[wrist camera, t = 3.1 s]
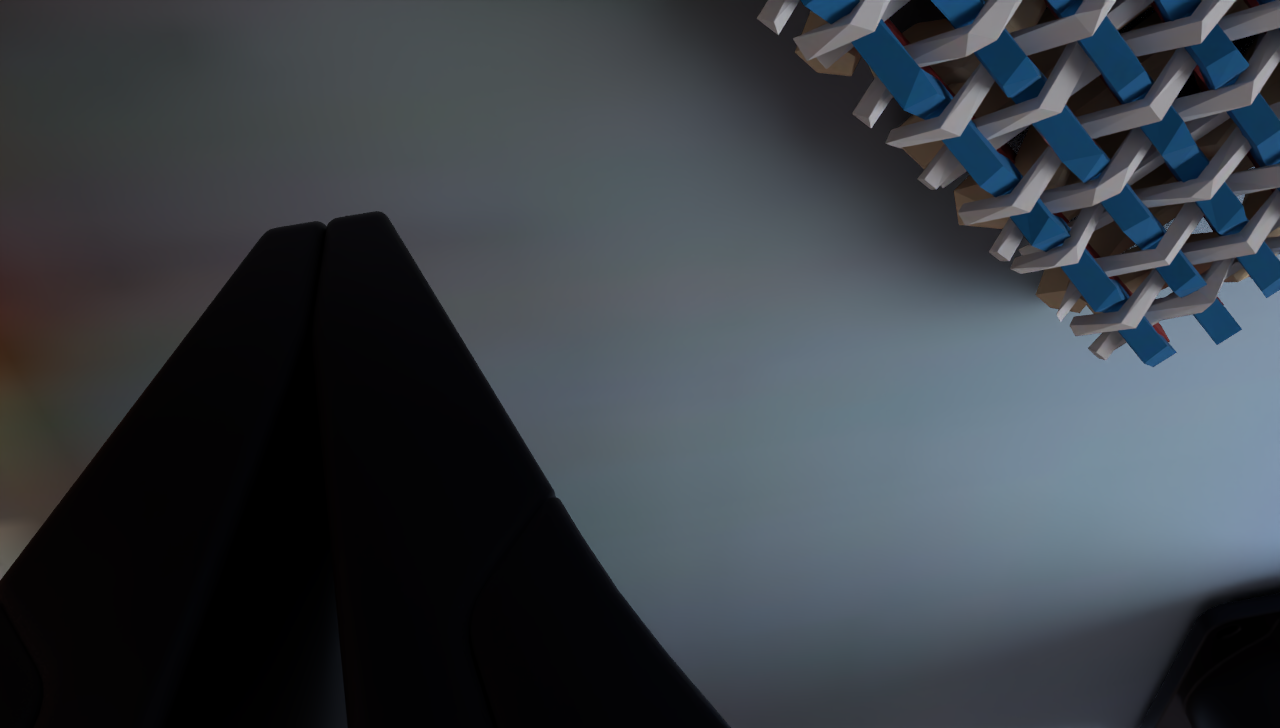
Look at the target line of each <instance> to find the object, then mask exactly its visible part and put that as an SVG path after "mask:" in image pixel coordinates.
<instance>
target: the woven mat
mask: <svg viewBox="0 0 1280 728" xmlns="http://www.w3.org/2000/svg"><path fill="white" fill-rule="evenodd" d="M799 1H800V0H768V1H767V3H766V4H765V6H764V8H763V9H762V11H761V13H760V14H759V16H758V17H757V19H758V20H759V21H761V22H762V23H763V24H764V25H766V26H767V27H768V28H770V29H771V30H772V31H773V32H775V33H776V34H777V35H779V33H780V32H781V30H782V28H783V27H784V25H785V24H786V22H787V20H788V19H789V17H790V15H791V14H792V12H793V11H794V9H795V7H796V6H797V4H798V2H799ZM909 1H910V0H801V2H802V3H803V4H804V6H805V7H807V8H808V9H810V10H811V11H810V14H809V16H808V19H807V22H806V24H805V27H804V29H803V32H802V35H799V36H797V37H795V38H793V40H794V41H795V43H796V44H797V48H796V50H795V53H796V54H797V55H798V56H799V57H800V58H802V59H803V60H804V61H805V62H806V63H807V64H808V65H809V66H810V67H812V68H813V69H814V70H815V71H816V72H817V73H825V74H834V75H843V76H852V74H853V72H854V70H855V68H856V66H857V64H858V62H859V60H860V58H861V56H862V57H863V58H864V60H865V61H866V62H867V64H868V66H869V68H870V70H871V72H872V74H873V77H874V80H873V81H872V83H871V84H870V86H869V88H868V89H867V91H866V92H865V94H864V96H863V97H862V99H861V100H860V102H859V104H858V105H857V107H856V108H855V110H854V112H853V113H852V114H853V115H854V116H855V117H857V118H858V119H859V120H861V121H862V122H863V123H864V124H866V125H867V126H868V127H870V128H872V127H873V125H874V124H875V122H876V121H877V119H878V118H879V116H880V115H881V113H882V112H883V110H884V109H885V108H886V106H887V105H888V103H889V102H890V100H891V99H892V98H895V100H896V101H897V102H898V103H899V105H900V106H901V107H902V109H903V110H905V111H907V112H909V113H911V114H913V115H912V116H911V117H910V118H908V119H907V120H906V121H905V122H904V123H903V124H902V125H901V126H900V127H898V128H895V129H891V131H890V133H889V136H888V138H887V140H886V142H885V144H888V145H891V146H894V147H897V148H902V149H903V150H904V151H905V152H906V153H907V154H908V155H910V156H911V157H912V158H913V159H914V160H915V161H916V162H917V163H918V164H919V165H920V166H921V167H922V168H923V169H924V171H923V172H922V173H921V175H920V176H919V177H918V180H919V181H920V182H922V183H923V184H924V185H925V186H927V187H928V188H929V189H930V190H936V189H937V188H938V187H939V186H941V187H942V188H944V187H946V186H947V185H948V184H950V183H951V182H953V181H954V180H955V179H957V178H958V177H960V176H961V175H962V174H964V173H965V172H966V171H967V172H968V173H969V174H970V175H969V176H968V177H967V178H966V179H965V180H964V181H963V182H962V183H961V184H960V185H959V186H958V187H957V188H956V189H955V190H954V197H955V203H956V210H957V216H958V222H959V225H965V226H976V227H986V228H996V229H1002V231H1001V233H1000V234H999V236H998V237H997V239H996V241H995V242H994V244H993V246H992V247H991V249H990V251H989V253H990V254H992V255H993V256H994V257H996V258H997V259H998V260H1000V261H1010V259H1011V257H1012V256H1013V254H1014V252H1015V250H1016V249H1017V247H1018V245H1019V244H1020V242H1021V240H1022V238H1023V237H1025V238H1026V239H1027V240H1028V242H1029V243H1030V244H1028V245H1026V246H1024V247H1022V248H1021V249H1019V252H1020V253H1021V255H1022V256H1019V257H1015V258H1014V261H1013V263H1012V266H1011V268H1010V269H1012V270H1014V271H1016V272H1018V273H1020V274H1023V273H1029V272H1034V271H1039V270H1044V269H1045V270H1044V273H1043V275H1042V278H1041V281H1040V284H1039V286H1038V289H1037V292H1036V296H1037V297H1039V298H1040V299H1041V300H1042V301H1043V302H1044V303H1045V304H1047V305H1048V306H1049V307H1050V308H1055V309H1059V310H1058V312H1057V316H1058V318H1059V320H1060V322H1061V321H1062V320H1063V318H1064V317H1065V316H1066V315H1067V313H1068V312H1069V311H1072V312H1077V313H1080V312H1081V311H1082V309H1083V308H1084V307H1085V306H1086V305H1087V306H1088V307H1089V309H1090V310H1091V311H1092V312H1093V313H1094V314H1092V315H1084V316H1076V317H1073V320H1072V322H1071V324H1070V327H1071V329H1072V331H1073V333H1074V334H1075V336H1081V335H1088V334H1096V333H1102V334H1101V335H1100V336H1099V337H1098V338H1097V339H1096V340H1095V341H1094V342H1093V343H1092V345H1091V346H1090V347H1089V348H1088V349H1089V350H1090V351H1091V352H1092V353H1093V354H1094V355H1096V356H1097V357H1098V358H1099V359H1103V360H1107V359H1108V357H1109V356H1110V355H1111V353H1112V352H1113V351H1114V350H1115V349H1117V348H1118V347H1120V346H1122V345H1123V344H1125V343H1126V342H1127V343H1128V344H1129V346H1130V347H1131V348H1132V349H1133V350H1134V352H1135V353H1136V354H1137V355H1138V357H1139V358H1140V359H1141V360H1142V361H1143V363H1144V364H1147V365H1150V366H1152V367H1154V366H1156V365H1157V364H1159V363H1161V362H1162V361H1164V360H1165V359H1167V358H1169V357H1170V356H1172V355H1173V354H1175V353H1177V352H1176V351H1175V350H1174V349H1173V348H1172V346H1171V345H1170V344H1169V343H1168V342H1170V341H1169V339H1168V337H1167V335H1166V334H1165V332H1164V330H1163V328H1162V326H1161V325H1160V324H1159V323H1158V322H1159V321H1161V320H1165V319H1170V318H1175V317H1181V316H1186V315H1191V314H1193V315H1194V317H1195V318H1196V319H1197V320H1198V322H1199V323H1200V324H1201V325H1202V327H1203V328H1204V329H1205V331H1206V332H1207V333H1208V334H1209V336H1210V337H1211V338H1212V339H1213V341H1214V342H1215V343H1216V345H1218V344H1219V343H1221V342H1223V341H1224V340H1226V339H1227V338H1229V337H1230V336H1232V335H1234V334H1235V333H1237V332H1238V331H1240V330H1242V329H1241V327H1240V326H1239V325H1238V324H1237V322H1236V321H1235V320H1234V318H1233V317H1232V316H1231V315H1230V313H1229V312H1228V311H1227V310H1226V308H1225V307H1224V306H1223V305H1224V304H1223V303H1222V302H1221V301H1220V299H1219V298H1218V297H1217V295H1218V293H1219V291H1220V289H1221V287H1222V284H1223V282H1239V281H1241V280H1243V279H1245V278H1247V277H1251V278H1252V279H1253V281H1254V282H1255V283H1256V284H1257V286H1258V287H1259V288H1260V290H1261V291H1262V292H1263V294H1264V295H1265V297H1266V298H1267V297H1269V296H1271V295H1272V294H1274V293H1275V292H1277V291H1279V290H1280V261H1279V260H1278V258H1277V257H1276V256H1277V254H1280V0H931V1H932V2H933V3H934V4H935V5H936V7H937V8H938V9H939V10H940V11H941V12H942V13H943V14H944V16H945V17H946V19H940V20H934V21H927V22H921V23H916V24H915V25H913V26H912V27H910V28H909V29H907V30H906V31H904V32H903V33H901V32H900V31H899V30H898V29H897V27H896V26H895V25H894V24H893V23H892V22H891V21H890V19H889V17H890V16H892V15H893V14H894V13H895V12H897V11H898V10H899V9H900V8H901V7H903V6H904V5H905V4H906V3H907V2H909ZM1046 7H1048V9H1047V10H1046V11H1044V10H1045V9H1046ZM1150 7H1153V8H1154V10H1155V12H1154V13H1153V14H1151V15H1150V16H1149V17H1147V18H1146V19H1145V20H1143V21H1142V22H1141V23H1139V24H1138V25H1137V26H1135V27H1134V28H1133V29H1131V30H1130V31H1128V32H1124V33H1119V32H1118V31H1119V30H1120V29H1122V28H1123V27H1124V26H1126V25H1127V24H1129V23H1130V22H1131V21H1133V20H1134V19H1135V18H1137V17H1138V16H1139V15H1141V14H1142V13H1143V12H1145V11H1146V10H1147V9H1149V8H1150ZM1255 34H1259V35H1258V36H1257V37H1256V38H1255V40H1254V41H1253V42H1252V44H1251V45H1250V46H1249V47H1248V49H1247V50H1246V51H1245V53H1244V54H1243V55H1242V54H1241V53H1240V52H1239V51H1238V49H1237V48H1236V47H1235V45H1234V44H1233V43H1232V42H1231V41H1234V40H1237V39H1241V38H1244V37H1248V36H1252V35H1255ZM1192 72H1193V74H1194V76H1195V79H1196V82H1197V85H1198V87H1199V88H1200V90H1201V93H1197V94H1193V95H1189V96H1185V97H1181V98H1177V99H1175V98H1176V97H1177V95H1178V94H1179V92H1180V90H1181V89H1182V87H1183V86H1184V84H1185V83H1186V81H1187V79H1188V78H1189V76H1190V75H1191V73H1192ZM948 84H950V85H948ZM947 85H948V86H947ZM1029 126H1030V127H1029ZM1027 127H1029V129H1028V131H1027V134H1026V136H1025V138H1024V140H1023V142H1022V144H1021V146H1020V149H1019V151H1018V153H1017V155H1016V153H1015V152H1014V151H1013V149H1012V148H1011V147H1010V146H1009V145H1008V144H1007V142H1008V141H1009V140H1011V139H1012V138H1013V137H1015V136H1016V135H1018V134H1019V133H1020V132H1022V131H1023V130H1025V129H1026V128H1027ZM1097 137H1099V138H1097ZM1094 138H1097V139H1096V140H1094ZM1252 166H1255V169H1250V170H1248V169H1249V168H1251V167H1252ZM1242 194H1245V197H1244V200H1243V203H1242V204H1241V202H1240V201H1239V200H1238V198H1237V197H1236V196H1237V195H1242ZM1077 215H1078V217H1077V219H1075V220H1074V221H1072V222H1069V220H1071V219H1073V218H1074V217H1076V216H1077ZM1175 217H1176V218H1175ZM1203 217H1204V218H1205V220H1206V221H1207V222H1208V224H1209V225H1210V227H1211V229H1212V230H1213V232H1209V233H1199V234H1191V233H1192V232H1193V230H1194V229H1195V228H1196V226H1197V225H1198V223H1199V222H1200V220H1201V219H1202V218H1203ZM1174 218H1175V219H1174ZM1172 219H1174V221H1173V222H1172V224H1171V225H1170V227H1169V229H1168V230H1167V231H1166V230H1165V229H1164V227H1163V225H1165V224H1166V223H1168V222H1169V221H1171V220H1172ZM1135 244H1136V245H1137V247H1134V248H1131V249H1129V248H1130V247H1132V246H1133V245H1135ZM1127 249H1128V250H1127ZM1124 251H1125V252H1124ZM1121 253H1122V254H1121ZM1168 286H1169V287H1170V288H1171V289H1172V290H1173V292H1172V293H1171V294H1169V295H1168V296H1166V297H1164V298H1159V299H1155V298H1156V296H1157V295H1158V293H1159V292H1160V290H1162V289H1164V288H1166V287H1168Z"/></svg>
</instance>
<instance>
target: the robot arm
mask: <svg viewBox="0 0 1280 728" xmlns="http://www.w3.org/2000/svg"><path fill="white" fill-rule="evenodd" d="M0 728H731V727H730V726H729V725H728V724H727V723H726V722H725V720H724V719H723V718H722V717H721V716H720V714H719V713H718V712H717V711H716V710H715V709H714V707H713V706H712V705H711V704H710V703H709V702H708V700H707V699H706V698H705V697H704V696H703V695H702V693H701V692H700V691H699V690H698V689H697V687H696V686H695V685H694V684H693V683H692V682H691V680H690V679H689V678H688V677H687V676H686V675H685V673H684V672H683V671H682V670H681V669H680V667H679V666H678V665H677V664H676V663H675V662H674V660H673V659H672V658H671V657H670V656H669V655H668V653H667V652H666V651H665V650H664V648H663V647H662V646H661V645H660V643H659V642H658V641H657V639H656V638H655V637H654V636H653V634H652V633H651V632H650V631H649V629H648V628H647V627H646V625H645V624H644V623H643V622H642V620H641V619H640V618H639V616H638V615H637V614H636V613H635V611H634V610H633V609H632V607H631V606H630V605H629V604H628V602H627V601H626V600H625V598H624V597H623V596H622V595H621V593H620V592H619V591H618V589H617V588H616V586H615V585H614V583H613V582H612V580H611V579H610V577H609V576H608V574H607V573H606V571H605V570H604V568H603V567H602V565H601V564H600V562H599V561H598V559H597V558H596V556H595V555H594V553H593V552H592V550H591V549H590V547H589V546H588V544H587V543H586V541H585V540H584V538H583V537H582V535H581V533H580V532H579V530H578V528H577V527H576V525H575V524H574V522H573V520H572V519H571V517H570V515H569V514H568V512H567V510H566V509H565V507H564V505H563V504H562V502H561V501H560V499H558V498H556V497H555V492H554V490H553V488H552V487H551V485H550V483H549V482H548V480H547V478H546V477H545V475H544V473H543V472H542V470H541V469H540V467H539V465H538V464H537V462H536V460H535V459H534V457H533V455H532V454H531V452H530V450H529V449H528V447H527V445H526V444H525V442H524V441H523V439H522V437H521V436H520V434H519V432H518V431H517V429H516V427H515V426H514V424H513V422H512V421H511V419H510V417H509V416H508V414H507V413H506V411H505V409H504V408H503V406H502V404H501V403H500V401H499V399H498V398H497V396H496V394H495V393H494V391H493V389H492V388H491V386H490V385H489V383H488V381H487V380H486V378H485V376H484V375H483V373H482V371H481V370H480V368H479V366H478V365H477V363H476V361H475V360H474V358H473V357H472V355H471V353H470V352H469V350H468V348H467V347H466V345H465V343H464V342H463V340H462V338H461V337H460V335H459V333H458V332H457V330H456V329H455V327H454V325H453V324H452V322H451V320H450V319H449V317H448V315H447V314H446V312H445V310H444V309H443V307H442V305H441V304H440V302H439V301H438V299H437V297H436V296H435V294H434V292H433V291H432V289H431V287H430V286H429V284H428V282H427V281H426V279H425V277H424V276H423V274H422V273H421V271H420V269H419V268H418V266H417V264H416V263H415V261H414V259H413V258H412V256H411V254H410V253H409V251H408V249H407V248H406V246H405V245H404V243H403V241H402V240H401V238H400V236H399V235H398V233H397V231H396V230H395V228H394V226H393V225H392V223H391V221H390V220H389V218H388V217H387V216H386V215H385V214H384V213H382V212H379V211H375V212H369V213H363V214H357V215H351V216H345V217H339V218H335V219H333V220H331V221H330V222H329V223H328V225H327V226H326V225H325V224H323V223H321V222H319V221H314V222H308V223H302V224H296V225H290V226H284V227H278V228H274V229H270V230H269V231H267V232H266V233H265V234H264V235H263V236H262V237H261V238H260V239H259V241H258V242H257V243H256V245H255V246H254V247H253V249H252V250H251V251H250V252H249V254H248V255H247V256H246V258H245V259H244V260H243V262H242V263H241V264H240V266H239V267H238V268H237V270H236V271H235V272H234V274H233V275H232V276H231V277H230V279H229V280H228V281H227V283H226V284H225V285H224V287H223V288H222V289H221V291H220V292H219V293H218V295H217V296H216V297H215V299H214V300H213V301H212V303H211V304H210V305H209V306H208V308H207V309H206V310H205V312H204V313H203V314H202V316H201V317H200V318H199V320H198V321H197V322H196V324H195V325H194V326H193V328H192V329H191V330H190V331H189V333H188V334H187V335H186V337H185V338H184V339H183V341H182V342H181V343H180V345H179V346H178V347H177V349H176V350H175V351H174V353H173V354H172V355H171V356H170V358H169V359H168V360H167V362H166V363H165V364H164V366H163V367H162V368H161V370H160V371H159V372H158V374H157V375H156V376H155V378H154V379H153V380H152V382H151V383H150V384H149V385H148V387H147V388H146V389H145V391H144V392H143V393H142V395H141V396H140V397H139V399H138V400H137V401H136V403H135V404H134V405H133V407H132V408H131V409H130V410H129V412H128V413H127V414H126V416H125V417H124V418H123V420H122V421H121V422H120V424H119V425H118V426H117V428H116V429H115V430H114V432H113V433H112V434H111V435H110V437H109V438H108V439H107V441H106V442H105V443H104V445H103V446H102V447H101V449H100V450H99V451H98V453H97V454H96V455H95V457H94V458H93V459H92V460H91V462H90V463H89V464H88V466H87V467H86V468H85V470H84V471H83V472H82V474H81V475H80V476H79V478H78V479H77V480H76V482H75V483H74V484H73V486H72V487H71V488H70V489H69V491H68V492H67V493H66V495H65V496H64V497H63V499H62V500H61V501H60V503H59V504H58V505H57V507H56V508H55V509H54V511H53V512H52V513H51V514H50V516H49V517H48V518H47V520H46V521H45V522H44V524H43V525H42V526H41V528H40V529H39V530H38V532H37V533H36V534H35V536H34V537H33V538H32V539H31V541H30V542H29V543H28V545H27V546H26V547H25V549H24V550H23V551H22V553H21V554H20V555H19V557H18V558H17V559H16V561H15V562H14V563H13V564H12V566H11V567H10V568H9V570H8V571H7V572H6V574H5V575H4V576H3V578H2V579H1V580H0ZM1140 728H1280V593H1278V594H1272V595H1267V596H1262V597H1257V598H1252V599H1246V600H1241V601H1236V602H1231V603H1225V604H1222V605H1218V606H1215V607H1213V608H1211V609H1209V610H1207V611H1206V612H1204V613H1203V614H1201V615H1200V616H1199V617H1198V619H1197V620H1196V622H1195V623H1194V625H1193V627H1192V629H1191V631H1190V633H1189V635H1188V637H1187V639H1186V641H1185V643H1184V644H1183V646H1182V648H1181V650H1180V652H1179V654H1178V656H1177V658H1176V660H1175V662H1174V663H1173V665H1172V667H1171V669H1170V671H1169V673H1168V675H1167V677H1166V679H1165V681H1164V682H1163V684H1162V686H1161V688H1160V690H1159V692H1158V694H1157V696H1156V698H1155V700H1154V701H1153V703H1152V705H1151V707H1150V709H1149V711H1148V713H1147V715H1146V717H1145V719H1144V720H1143V722H1142V724H1141V726H1140Z"/></svg>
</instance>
